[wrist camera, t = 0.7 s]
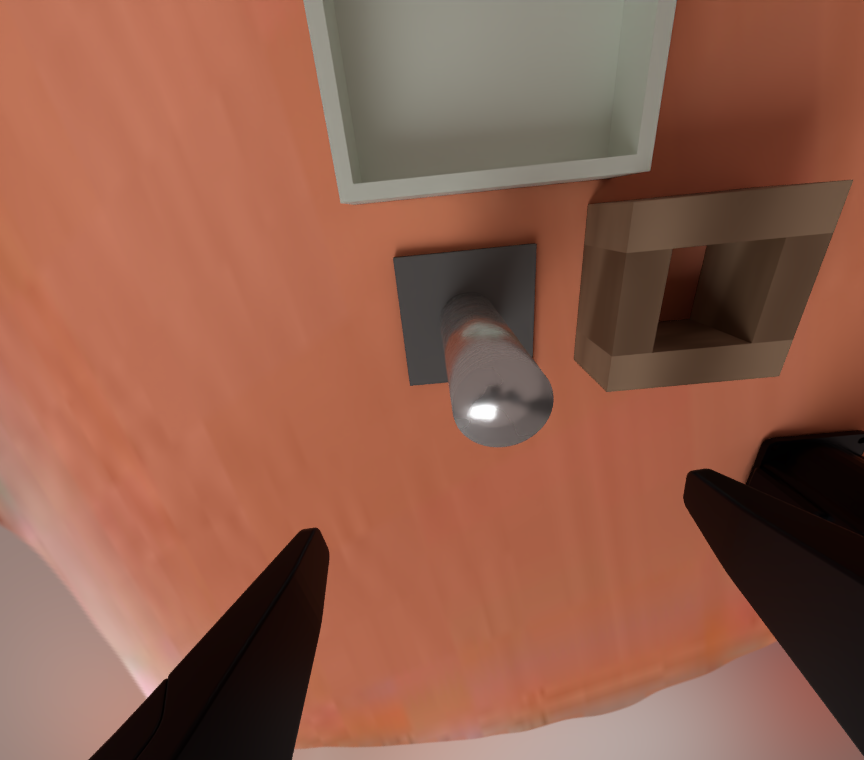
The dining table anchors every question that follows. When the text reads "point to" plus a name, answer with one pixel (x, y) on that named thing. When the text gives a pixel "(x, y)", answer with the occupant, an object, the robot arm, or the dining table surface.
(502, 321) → the pin
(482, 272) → the mat
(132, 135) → the dining table surface
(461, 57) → the tray
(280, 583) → the robot arm
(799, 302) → the brown hollow block
